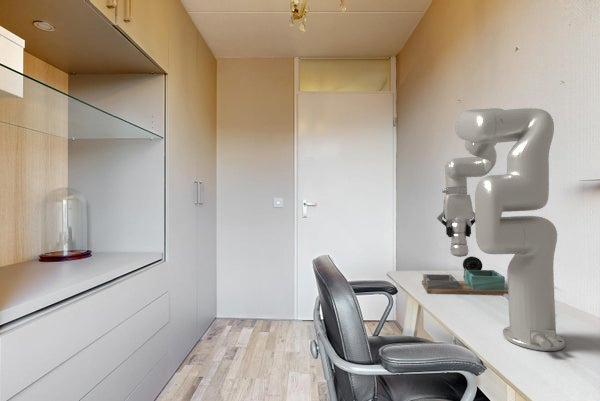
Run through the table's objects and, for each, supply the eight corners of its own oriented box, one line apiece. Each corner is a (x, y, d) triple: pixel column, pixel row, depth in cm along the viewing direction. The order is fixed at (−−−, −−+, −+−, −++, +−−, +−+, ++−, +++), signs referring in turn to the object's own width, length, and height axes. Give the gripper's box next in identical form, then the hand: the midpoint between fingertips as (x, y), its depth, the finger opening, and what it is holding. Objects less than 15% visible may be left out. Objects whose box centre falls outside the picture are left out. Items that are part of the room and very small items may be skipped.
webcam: (465, 280, 136) (464, 258, 136) (461, 276, 143) (460, 254, 144) (485, 281, 134) (484, 258, 134) (480, 277, 141) (479, 255, 141)
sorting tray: (508, 295, 114) (507, 277, 114) (427, 293, 121) (426, 276, 121) (494, 285, 128) (493, 269, 128) (421, 283, 134) (421, 268, 134)
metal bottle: (469, 255, 125) (466, 206, 126) (468, 258, 120) (466, 206, 120) (451, 254, 129) (449, 206, 129) (449, 257, 123) (447, 206, 123)
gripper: (435, 192, 122) (437, 238, 122) (483, 190, 119) (486, 237, 119) (431, 193, 130) (433, 236, 130) (476, 190, 126) (478, 235, 126)
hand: (458, 236), depth 124 cm, fingers closed on metal bottle, 6 cm apart
